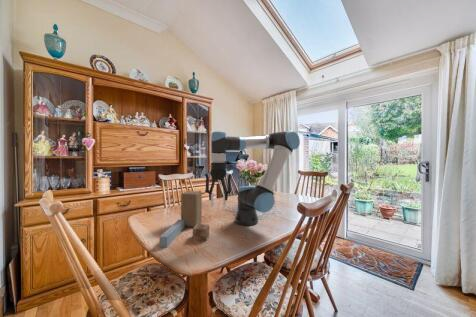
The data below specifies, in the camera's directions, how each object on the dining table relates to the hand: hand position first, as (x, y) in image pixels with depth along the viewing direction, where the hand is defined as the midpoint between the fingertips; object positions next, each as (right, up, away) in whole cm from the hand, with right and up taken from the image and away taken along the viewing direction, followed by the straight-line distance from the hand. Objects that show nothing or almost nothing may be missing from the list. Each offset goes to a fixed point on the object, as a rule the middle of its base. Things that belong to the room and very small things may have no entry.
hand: (218, 206), depth 104 cm
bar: (-24, -17, +2) cm, 29 cm away
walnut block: (-9, -17, +1) cm, 19 cm away
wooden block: (-19, -16, +21) cm, 32 cm away
